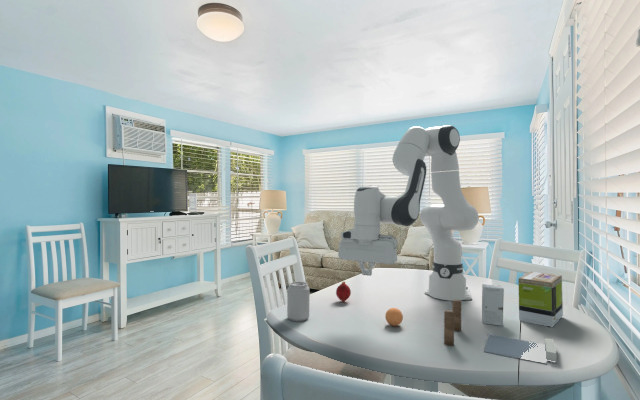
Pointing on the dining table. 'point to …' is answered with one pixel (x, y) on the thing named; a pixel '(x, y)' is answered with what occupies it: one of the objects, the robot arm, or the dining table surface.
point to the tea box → (540, 298)
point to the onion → (343, 292)
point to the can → (298, 301)
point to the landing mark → (507, 346)
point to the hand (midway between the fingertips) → (366, 275)
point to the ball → (394, 316)
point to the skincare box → (492, 304)
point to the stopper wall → (550, 349)
